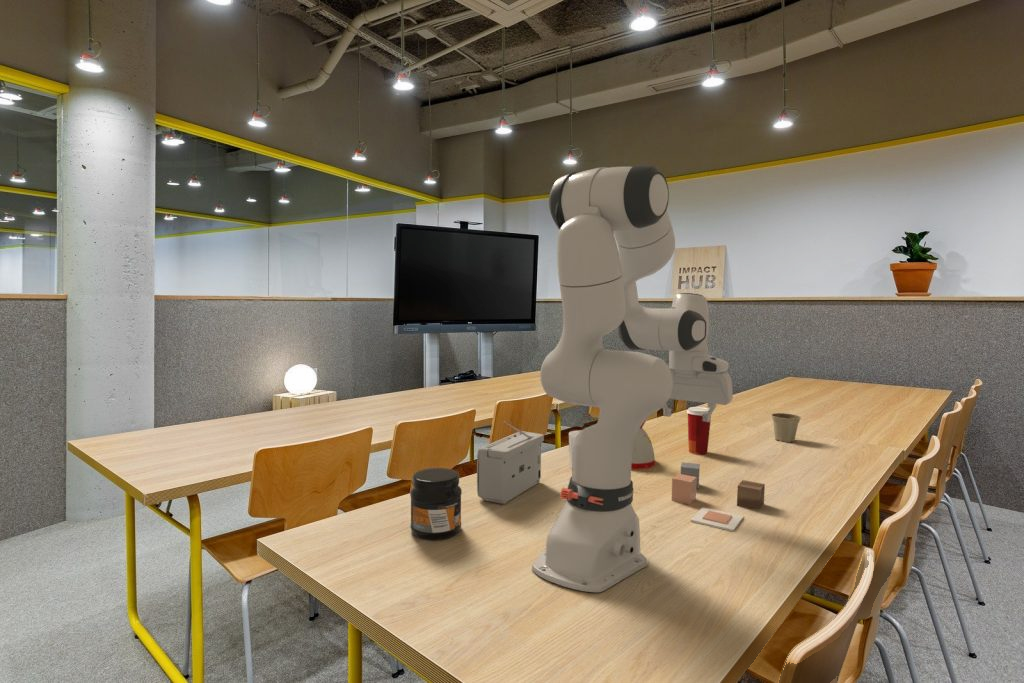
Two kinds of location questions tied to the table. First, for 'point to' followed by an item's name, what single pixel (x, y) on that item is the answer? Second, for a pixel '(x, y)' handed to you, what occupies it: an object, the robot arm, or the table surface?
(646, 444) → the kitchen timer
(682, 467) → the grey block
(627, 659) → the table surface
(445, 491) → the supplement container
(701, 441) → the paper cup
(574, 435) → the white cup
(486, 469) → the stereo radio cassette player
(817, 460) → the table surface
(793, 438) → the flower pot
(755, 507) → the walnut block
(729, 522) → the tile
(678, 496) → the salmon orange block
